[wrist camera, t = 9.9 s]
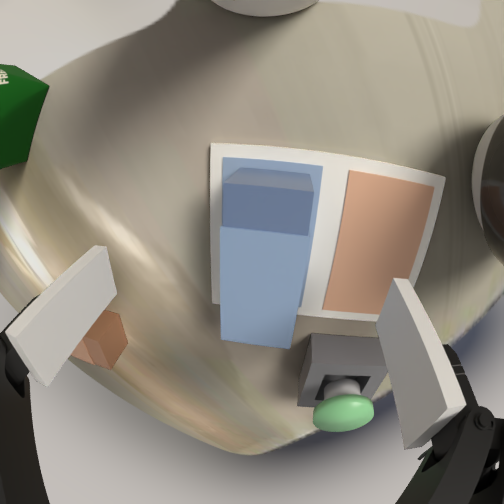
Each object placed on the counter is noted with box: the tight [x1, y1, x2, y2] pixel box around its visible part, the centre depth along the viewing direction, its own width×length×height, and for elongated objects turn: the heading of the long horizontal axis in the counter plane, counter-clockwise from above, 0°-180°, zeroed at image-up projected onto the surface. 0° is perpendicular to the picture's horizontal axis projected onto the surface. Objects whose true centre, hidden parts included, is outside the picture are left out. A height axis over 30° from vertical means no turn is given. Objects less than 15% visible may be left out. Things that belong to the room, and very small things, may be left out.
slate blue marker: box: [220, 167, 314, 349], centre depth 15 cm, size 9×4×4 cm, turn 177°
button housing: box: [297, 333, 388, 407], centre depth 20 cm, size 6×6×3 cm
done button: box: [313, 379, 374, 432], centre depth 17 cm, size 4×4×3 cm
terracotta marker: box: [71, 310, 128, 370], centre depth 23 cm, size 9×4×4 cm, turn 87°
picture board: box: [210, 143, 446, 322], centre depth 17 cm, size 14×11×1 cm
